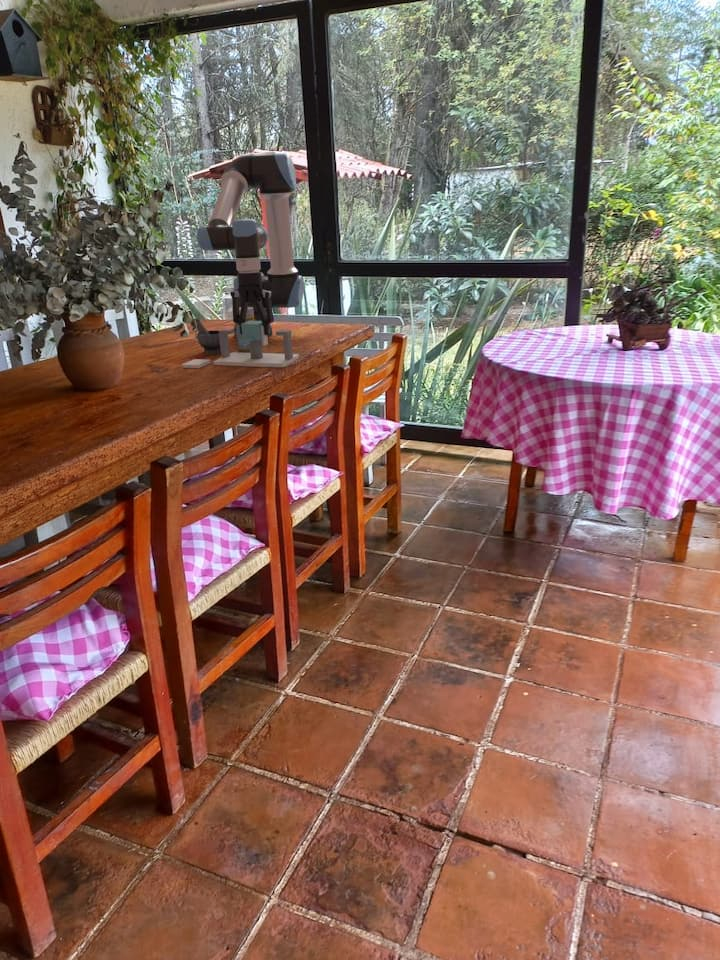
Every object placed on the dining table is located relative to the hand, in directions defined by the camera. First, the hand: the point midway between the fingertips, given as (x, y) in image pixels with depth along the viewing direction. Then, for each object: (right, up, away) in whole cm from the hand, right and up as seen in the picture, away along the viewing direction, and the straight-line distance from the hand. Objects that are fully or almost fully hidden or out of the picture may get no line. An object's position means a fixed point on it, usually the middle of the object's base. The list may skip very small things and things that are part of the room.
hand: (255, 344), depth 228 cm
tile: (-19, -7, 0) cm, 20 cm away
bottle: (-5, +1, +18) cm, 19 cm away
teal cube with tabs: (0, +2, -1) cm, 2 cm away
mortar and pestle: (-18, +1, +19) cm, 26 cm away
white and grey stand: (0, -5, +2) cm, 6 cm away
